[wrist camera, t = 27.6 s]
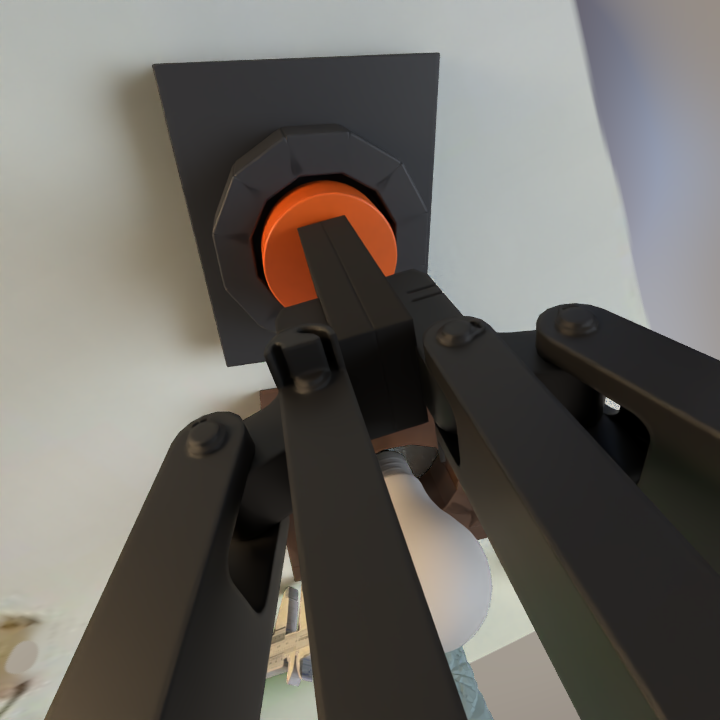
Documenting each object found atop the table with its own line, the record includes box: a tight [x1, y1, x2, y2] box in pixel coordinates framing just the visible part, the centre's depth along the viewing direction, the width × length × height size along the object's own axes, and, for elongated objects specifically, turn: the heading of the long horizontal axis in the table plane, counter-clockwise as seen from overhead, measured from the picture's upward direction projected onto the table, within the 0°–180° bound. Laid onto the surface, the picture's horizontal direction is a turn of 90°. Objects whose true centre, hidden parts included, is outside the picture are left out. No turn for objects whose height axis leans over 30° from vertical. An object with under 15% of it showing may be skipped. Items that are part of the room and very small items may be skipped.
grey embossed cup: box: [445, 646, 494, 720], centre depth 34 cm, size 10×10×12 cm
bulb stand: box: [260, 388, 487, 581], centre depth 26 cm, size 14×14×3 cm
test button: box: [261, 180, 397, 307], centre depth 15 cm, size 4×4×2 cm
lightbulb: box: [376, 451, 492, 653], centre depth 23 cm, size 6×6×11 cm
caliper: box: [266, 584, 313, 686], centre depth 34 cm, size 21×1×6 cm, turn 130°
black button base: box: [152, 53, 440, 367], centre depth 17 cm, size 11×9×4 cm
